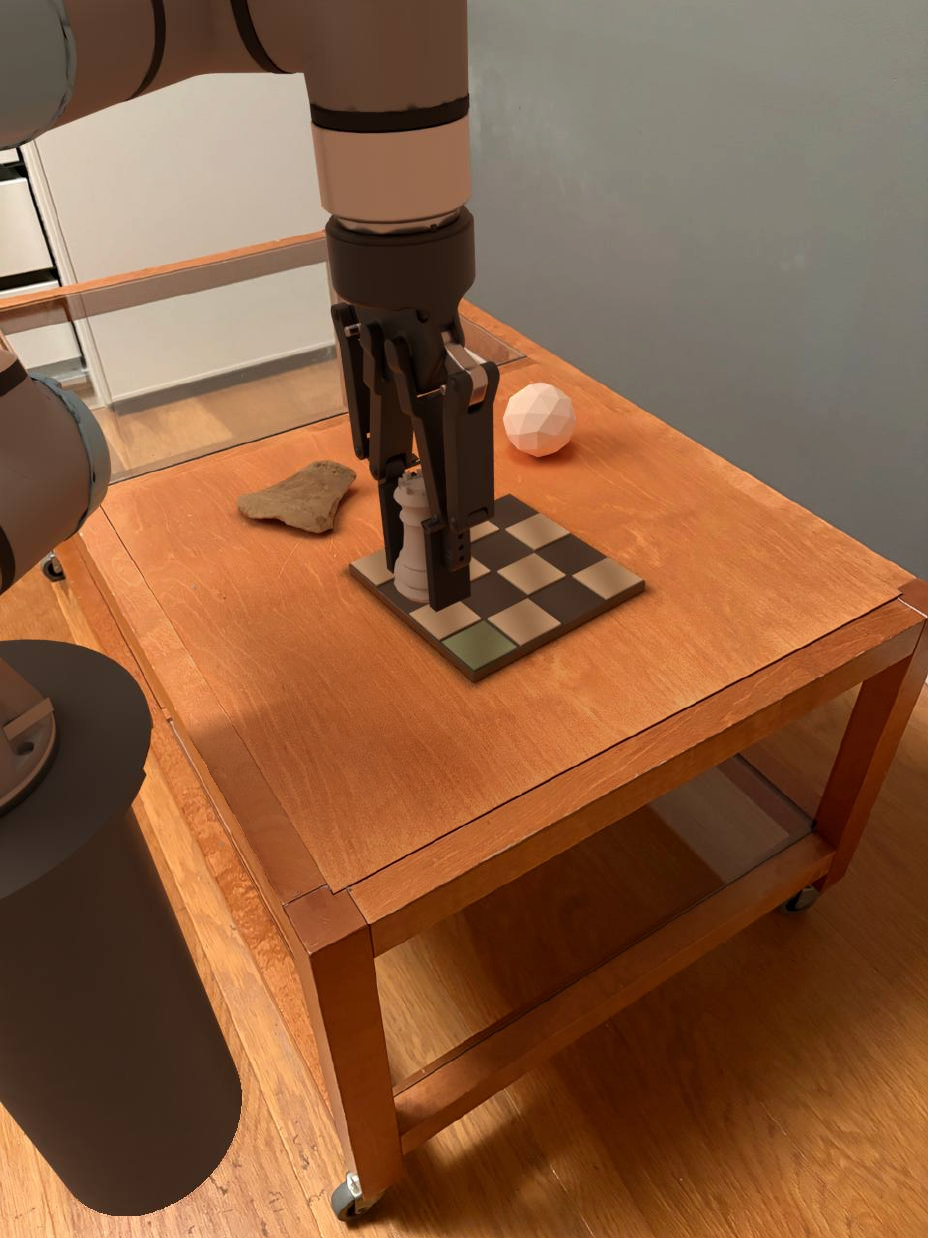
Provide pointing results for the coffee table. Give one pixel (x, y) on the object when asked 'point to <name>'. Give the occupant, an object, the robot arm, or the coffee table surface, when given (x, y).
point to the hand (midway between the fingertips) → (428, 581)
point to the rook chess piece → (412, 538)
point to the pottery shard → (302, 497)
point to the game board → (510, 590)
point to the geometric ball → (539, 419)
